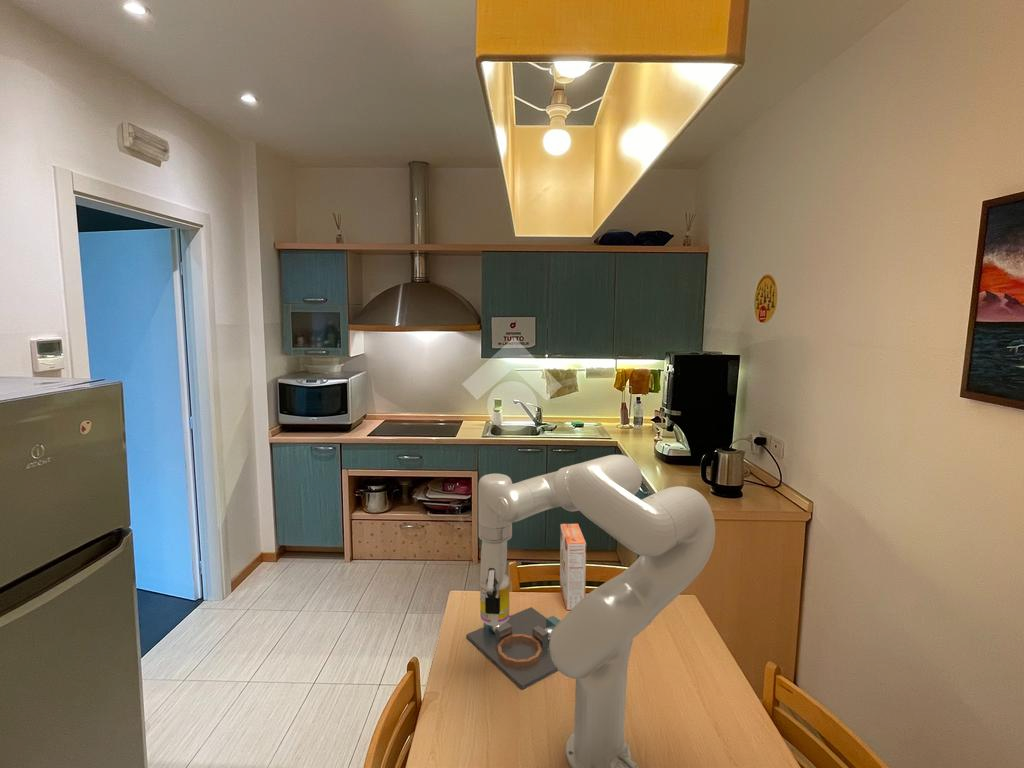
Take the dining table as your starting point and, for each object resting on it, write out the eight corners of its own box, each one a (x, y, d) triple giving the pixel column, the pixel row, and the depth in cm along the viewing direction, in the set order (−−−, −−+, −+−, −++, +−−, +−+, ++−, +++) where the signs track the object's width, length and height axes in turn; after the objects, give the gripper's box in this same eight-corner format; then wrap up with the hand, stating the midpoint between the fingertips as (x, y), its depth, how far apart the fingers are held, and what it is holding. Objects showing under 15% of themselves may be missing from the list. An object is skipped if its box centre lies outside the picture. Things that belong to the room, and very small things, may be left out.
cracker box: (558, 586, 166) (559, 522, 163) (577, 585, 166) (579, 522, 163) (564, 611, 152) (566, 542, 149) (585, 610, 152) (587, 542, 150)
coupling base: (590, 653, 133) (591, 635, 133) (521, 690, 120) (522, 670, 120) (531, 610, 153) (531, 594, 152) (466, 637, 139) (466, 620, 139)
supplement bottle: (510, 611, 124) (510, 559, 122) (508, 628, 117) (508, 573, 116) (482, 610, 124) (482, 558, 123) (478, 626, 118) (478, 572, 116)
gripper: (485, 514, 127) (485, 583, 129) (471, 545, 110) (471, 625, 112) (516, 515, 126) (515, 585, 129) (507, 547, 109) (506, 627, 112)
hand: (495, 603), depth 120 cm, fingers closed on supplement bottle, 6 cm apart
